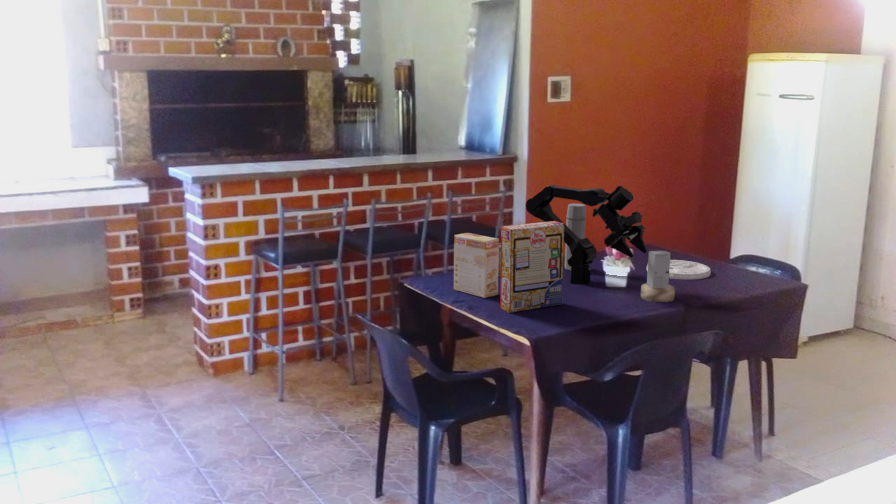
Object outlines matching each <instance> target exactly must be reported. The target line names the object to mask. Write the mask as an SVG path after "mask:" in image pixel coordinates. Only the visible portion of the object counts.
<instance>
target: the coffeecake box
mask: <svg viewBox="0 0 896 504" xmlns="http://www.w3.org/2000/svg"><path fill="white" fill-rule="evenodd" d="M453 237H454V238H453V240H454V241H453V245H454V246H453V290H454V291H458V292H462V293H465V294H469V295H472V296H476V297H480V298H483V299H485V298H490V297H494V296H497V295H499V276H498V263H499V244H500V238H496V237H493V236H492V237H491V236H486V235H482V234H481V235H480V234H476V233H471V232H464V233H459V234H454V236H453Z"/></svg>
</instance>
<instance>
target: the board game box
mask: <svg viewBox="0 0 896 504" xmlns="http://www.w3.org/2000/svg"><path fill="white" fill-rule="evenodd" d="M564 224H565V223H564V222H563V223H560V222H557V221H550V222H544V221H542V222H532V223H524V224H516V225H515V224H514V225H506V226H505V225H504V226H500V244H501V276H500V287H499V288H500V289H499V291H500V294H499V296H500V297H499V299H500V302H499V309H501V310H503V311H505V312H506V313H508V314H511V313H515V312H516V313H517V312H521V311H528V310H533V309H540V308H541V309H542V308H546V307H552V306H559V305H560V306H561V305H563V300H564V299H563V289H564V287H563V286H564V283H563V281H564V280H563V279H564V253H565V246H564V244H565V242H564Z"/></svg>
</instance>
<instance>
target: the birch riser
mask: <svg viewBox="0 0 896 504" xmlns="http://www.w3.org/2000/svg"><path fill="white" fill-rule="evenodd" d="M675 292H676V287H675V286H674V285H671V284H668V288H657V289H652V288H650V287H648V286H647V282H646V283H643V284H642V285H641V286H640V298H641V299H642V300H644V299H645V301H646V302H647V301H648V302H652V301H653V303H670V302H673V301H674V300H675V297H676V295H675V294H676V293H675ZM669 301H670V302H669Z"/></svg>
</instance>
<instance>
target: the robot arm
mask: <svg viewBox="0 0 896 504" xmlns="http://www.w3.org/2000/svg"><path fill="white" fill-rule="evenodd" d="M555 198H556V199H564V200H572V201H577V202H580V204H584V205H586V206H589V207H596V206H599V207H598V208H593V210H592V211H593V212H592V214H591V215H592V217H593V218H595V217H600V218H601V220H602V221H603V222H604V224H605V225H606V226H604V227H605V229H606V230H609V231H610V233H609V234H608V235H607V236H606V237H605V238H604V239H603V241H604V242H603V243H604V245H605V246H606V247H607V248H609V247H610V249H613V250H615V251H617V252H619V253H621V254H623V255H625V256H627V257H629V258H631V259H632V258H634V257H635V256H634V253H633V252H632V250H631V249H630V246H629V245H628V243H627V241H626V239H627V240H628V241H629V243H630V244H631V245H632V246H634V247H635V248H637V249H638V251H640V252H642V253H643V254H646V253H647V252H648V249H647V248H646V247H647V246H646V245H645V244H646V243H645V242H644V238H643V236H644V233H645V230H646V228H645V227H644V225H643V224H641V223H642V222H643V220H642V218H643V215H642V214H641V212H639V211H637V210H636V211H634V212H631V215H629V216H625V215H623V214H622V215H620V213H619V212H618V211H623V210H624V209H625V208H626V207H627V206H628V205H629V204H631V202H633V201H634V198H635V197H634V195H633V193H632V192H631V191H629V189H627V188H624V186H623V185H617V186H616V187H615V189H614V190H613V191H612V192H610V193H609V192H607V191H605V189H604V188H600V187H598V188H596V187H595V188H586V189H580V188H574V187H573V188H572V187H566V186H559V185H556V184H551V185H546V186H545V187H544V188H542V190H541V191H540V192H538V193H537V194H535V195H534V196H533V197H531V198H529V199H528V200H526V202H525V210H526V212H528V213H529V214H530V215H531V216H533V218H536V219H538V220H541V221H542V222H550V221H557V222H560V223H564V222H563V220H562V219H561V218H559V217H558V215H556V213H555V212H553V209H552V205H551V203H552V202H553V200H554V199H555ZM565 243H566V244H567V245H568V246H569V249H570V252H571V254H572V257H570V258H569V259H568V260H567V261H568V265H569V266H571V271H570V281H569V283H571V284H584V285H588V284H590V283H589V282H591V271H592V270H591V268H590V265H592V264H593V262H594V260H595V259H596V257H597V252H598V250H597V248H596V247H595V246H596V245H595V244H594V243H592V242H591V240H590V239H589V238H587V237H585V238H584V239H580V238H578V237H577V236H576V235H575V234H574V233H573V232H572V231H571V230H570V229H569V228H568V227H567V226H566V223H564V244H565Z"/></svg>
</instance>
